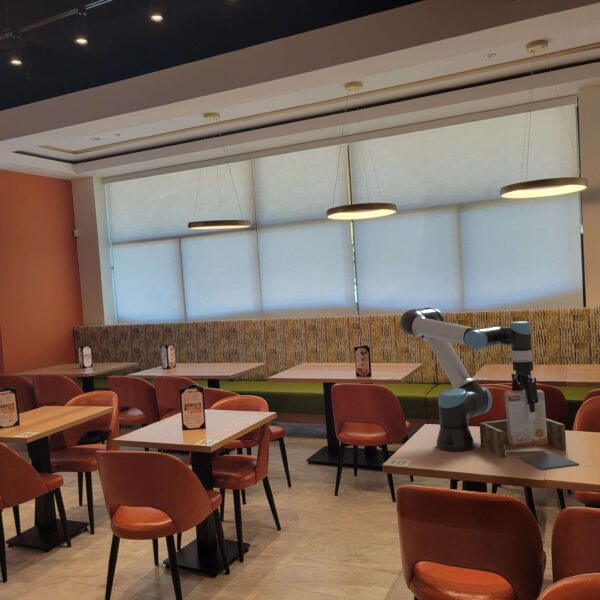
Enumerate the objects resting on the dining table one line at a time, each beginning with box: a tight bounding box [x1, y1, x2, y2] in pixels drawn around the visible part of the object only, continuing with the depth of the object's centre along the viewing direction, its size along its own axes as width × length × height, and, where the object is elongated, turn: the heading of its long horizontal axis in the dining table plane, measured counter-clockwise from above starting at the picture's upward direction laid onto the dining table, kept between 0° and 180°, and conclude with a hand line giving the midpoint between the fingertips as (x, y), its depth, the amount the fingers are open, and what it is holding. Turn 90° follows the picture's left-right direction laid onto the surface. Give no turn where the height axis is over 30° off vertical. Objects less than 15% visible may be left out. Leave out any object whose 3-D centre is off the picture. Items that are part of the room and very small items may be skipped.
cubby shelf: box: [479, 417, 567, 459], centre depth 232 cm, size 17×28×10 cm, turn 100°
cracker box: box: [504, 389, 549, 446], centre depth 228 cm, size 14×6×21 cm, turn 85°
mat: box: [517, 452, 580, 471], centre depth 214 cm, size 15×15×1 cm
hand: (525, 418), depth 228 cm, fingers closed on cracker box, 7 cm apart
